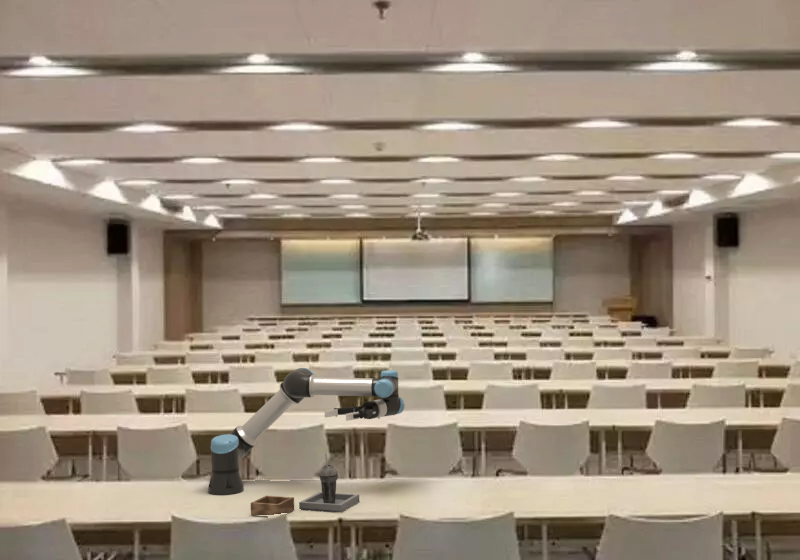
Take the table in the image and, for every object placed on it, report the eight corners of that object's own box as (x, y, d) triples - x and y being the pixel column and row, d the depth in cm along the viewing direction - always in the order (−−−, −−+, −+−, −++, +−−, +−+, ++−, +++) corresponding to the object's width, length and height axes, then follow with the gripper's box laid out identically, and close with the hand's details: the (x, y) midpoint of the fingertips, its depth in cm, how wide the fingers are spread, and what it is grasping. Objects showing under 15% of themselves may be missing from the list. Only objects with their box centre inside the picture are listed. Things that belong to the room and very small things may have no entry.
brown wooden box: (250, 515, 379) (250, 502, 379) (266, 508, 390) (266, 495, 390) (279, 518, 374) (279, 504, 374) (294, 510, 386) (293, 497, 386)
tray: (299, 509, 386) (299, 502, 386) (319, 499, 403) (319, 491, 403) (340, 512, 380) (340, 505, 380) (359, 501, 396) (359, 494, 396)
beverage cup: (342, 502, 393) (340, 452, 392) (331, 506, 386) (330, 456, 386) (327, 500, 396) (325, 451, 396) (316, 504, 390) (314, 454, 390)
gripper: (394, 421, 409) (355, 427, 395) (354, 415, 427) (316, 421, 413) (393, 403, 409) (355, 409, 395) (354, 398, 427) (316, 404, 413)
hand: (335, 415), depth 404 cm, fingers open, 13 cm apart
